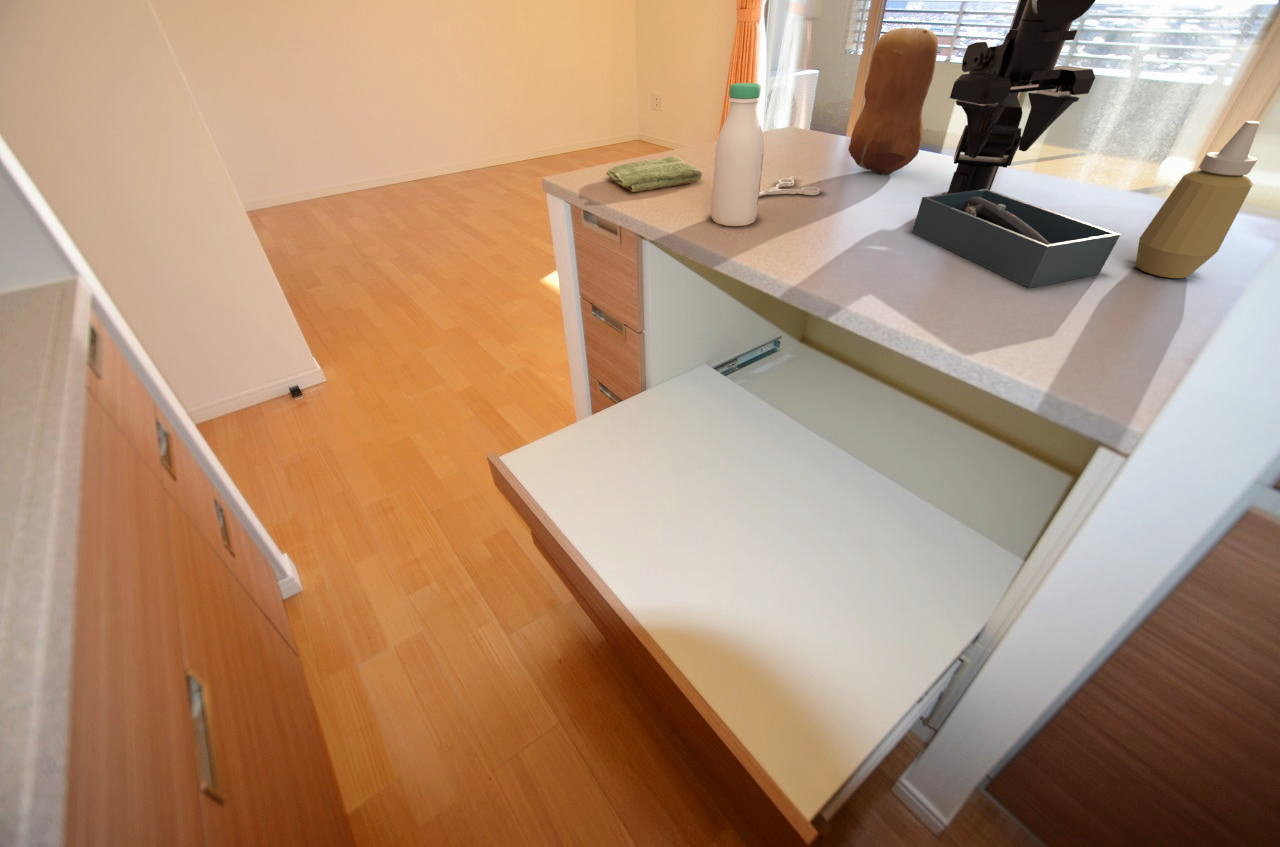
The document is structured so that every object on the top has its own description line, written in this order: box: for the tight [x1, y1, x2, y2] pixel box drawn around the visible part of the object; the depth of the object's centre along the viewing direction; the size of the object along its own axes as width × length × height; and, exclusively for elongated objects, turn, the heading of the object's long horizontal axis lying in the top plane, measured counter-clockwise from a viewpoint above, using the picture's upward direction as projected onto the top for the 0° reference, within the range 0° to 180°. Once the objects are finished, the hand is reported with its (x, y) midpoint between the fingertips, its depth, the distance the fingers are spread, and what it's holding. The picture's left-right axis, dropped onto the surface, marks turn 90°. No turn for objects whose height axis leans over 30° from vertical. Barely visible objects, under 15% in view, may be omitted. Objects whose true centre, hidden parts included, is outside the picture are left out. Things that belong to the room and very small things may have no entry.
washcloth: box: [606, 155, 703, 193], centre depth 112 cm, size 13×18×3 cm
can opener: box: [962, 197, 1050, 245], centre depth 78 cm, size 18×7×6 cm, turn 5°
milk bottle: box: [710, 82, 765, 227], centre depth 87 cm, size 8×8×20 cm
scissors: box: [759, 175, 821, 197], centre depth 104 cm, size 11×1×20 cm
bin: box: [911, 189, 1121, 289], centre depth 78 cm, size 12×22×6 cm, turn 18°
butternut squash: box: [847, 27, 939, 175], centre depth 107 cm, size 14×13×25 cm
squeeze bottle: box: [1135, 120, 1261, 279], centre depth 68 cm, size 8×8×18 cm
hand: (997, 154), depth 78 cm, fingers open, 9 cm apart
